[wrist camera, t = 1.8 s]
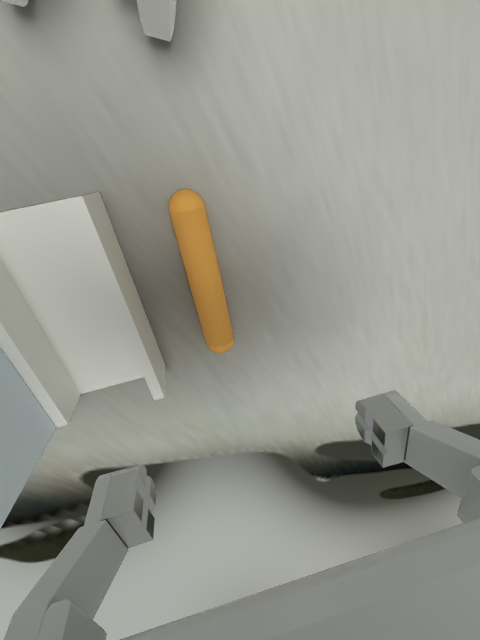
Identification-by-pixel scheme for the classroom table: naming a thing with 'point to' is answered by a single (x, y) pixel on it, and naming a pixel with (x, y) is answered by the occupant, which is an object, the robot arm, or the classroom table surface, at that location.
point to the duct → (71, 305)
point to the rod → (202, 268)
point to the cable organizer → (146, 16)
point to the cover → (18, 434)
